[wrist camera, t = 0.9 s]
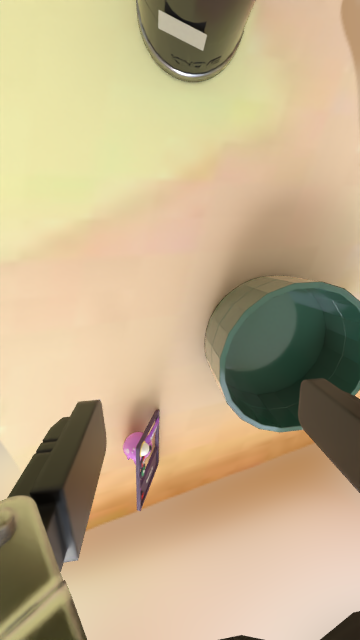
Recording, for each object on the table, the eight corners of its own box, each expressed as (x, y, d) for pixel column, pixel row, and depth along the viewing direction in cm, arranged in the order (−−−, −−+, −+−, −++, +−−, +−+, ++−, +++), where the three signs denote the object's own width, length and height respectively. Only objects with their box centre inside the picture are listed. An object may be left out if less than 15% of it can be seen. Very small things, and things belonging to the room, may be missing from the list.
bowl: (203, 278, 27) (220, 287, 20) (334, 272, 29) (389, 277, 22) (205, 400, 31) (218, 439, 25) (318, 389, 33) (360, 423, 26)
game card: (146, 513, 27) (145, 449, 24) (105, 501, 28) (100, 439, 26) (163, 464, 33) (164, 410, 31) (129, 456, 34) (127, 403, 32)
